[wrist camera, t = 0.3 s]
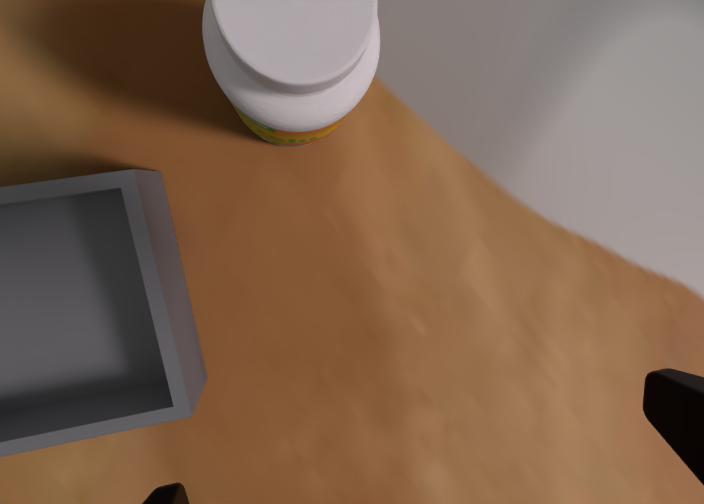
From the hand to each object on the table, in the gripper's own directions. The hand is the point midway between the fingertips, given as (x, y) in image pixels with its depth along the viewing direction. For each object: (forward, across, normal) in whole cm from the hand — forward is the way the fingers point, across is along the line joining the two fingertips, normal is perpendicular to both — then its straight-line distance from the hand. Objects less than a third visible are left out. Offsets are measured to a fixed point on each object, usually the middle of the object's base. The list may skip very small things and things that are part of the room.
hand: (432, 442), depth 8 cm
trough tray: (+14, +12, 0) cm, 18 cm away
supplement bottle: (+15, +1, -8) cm, 17 cm away
